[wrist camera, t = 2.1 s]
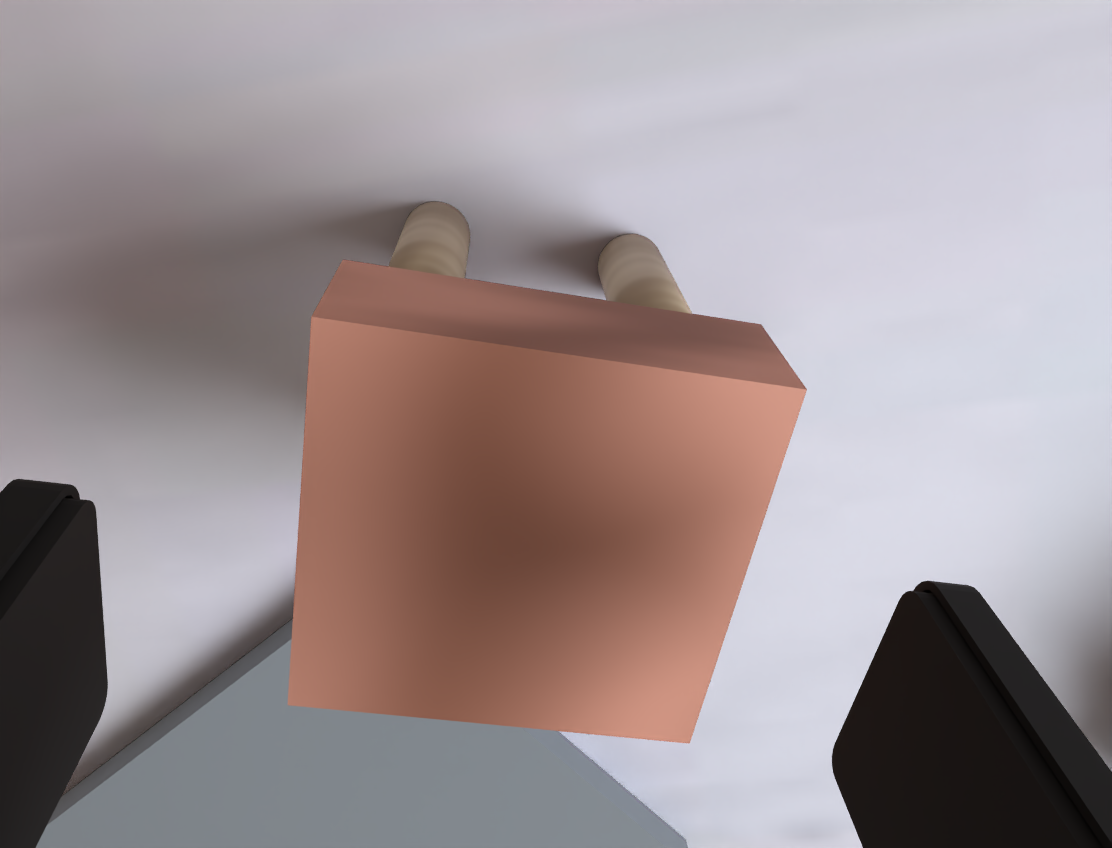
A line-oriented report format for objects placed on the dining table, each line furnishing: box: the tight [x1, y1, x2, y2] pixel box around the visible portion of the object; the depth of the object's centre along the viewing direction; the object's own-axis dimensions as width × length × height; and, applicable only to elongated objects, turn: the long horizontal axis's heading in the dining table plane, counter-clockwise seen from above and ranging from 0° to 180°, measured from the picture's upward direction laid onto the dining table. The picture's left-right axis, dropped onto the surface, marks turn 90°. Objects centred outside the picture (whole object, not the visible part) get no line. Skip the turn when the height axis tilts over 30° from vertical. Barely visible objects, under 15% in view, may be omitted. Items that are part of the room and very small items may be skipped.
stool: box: [288, 202, 807, 743], centre depth 17 cm, size 6×6×8 cm
